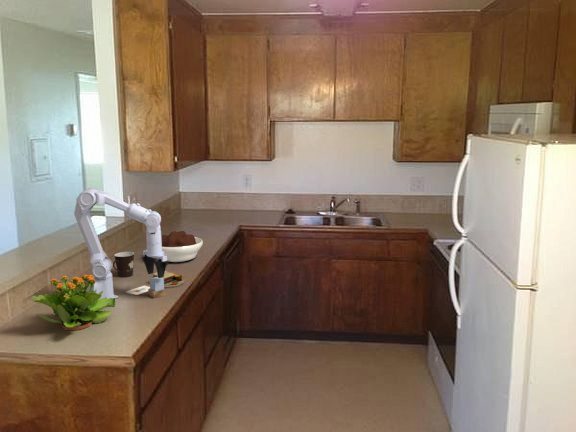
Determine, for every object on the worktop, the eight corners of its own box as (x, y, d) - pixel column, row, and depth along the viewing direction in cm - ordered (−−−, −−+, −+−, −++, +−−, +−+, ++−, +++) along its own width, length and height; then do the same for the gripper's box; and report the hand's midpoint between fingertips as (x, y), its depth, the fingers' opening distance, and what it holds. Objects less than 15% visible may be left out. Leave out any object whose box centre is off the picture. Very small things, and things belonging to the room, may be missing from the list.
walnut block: (153, 299, 210) (153, 292, 210) (148, 296, 214) (148, 289, 214) (165, 296, 214) (165, 289, 213) (160, 293, 217) (159, 286, 217)
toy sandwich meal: (166, 290, 221) (166, 280, 220) (147, 284, 229) (146, 274, 228) (190, 283, 230) (189, 273, 229) (171, 277, 238) (170, 267, 238)
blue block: (155, 291, 211) (154, 280, 210) (150, 289, 213) (149, 278, 212) (164, 289, 213) (163, 278, 212) (158, 287, 216) (158, 276, 215)
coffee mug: (129, 271, 248) (128, 250, 246) (138, 275, 242) (137, 254, 240) (106, 276, 240) (104, 255, 238) (115, 280, 234) (113, 259, 232)
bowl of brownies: (166, 252, 282) (164, 225, 279) (210, 254, 277) (209, 226, 274) (144, 265, 258) (142, 235, 255) (192, 267, 253) (191, 237, 250)
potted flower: (100, 339, 172) (96, 288, 168) (24, 342, 170) (19, 290, 167) (118, 312, 196) (115, 266, 193) (52, 314, 194) (48, 268, 191)
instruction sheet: (136, 295, 215) (136, 294, 215) (125, 292, 219) (125, 291, 218) (155, 288, 223) (155, 288, 223) (144, 285, 227) (144, 285, 227)
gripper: (173, 243, 208) (174, 277, 210) (153, 238, 218) (154, 269, 220) (157, 246, 203) (159, 280, 205) (137, 240, 213) (139, 273, 215)
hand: (155, 275), depth 212 cm, fingers open, 7 cm apart
